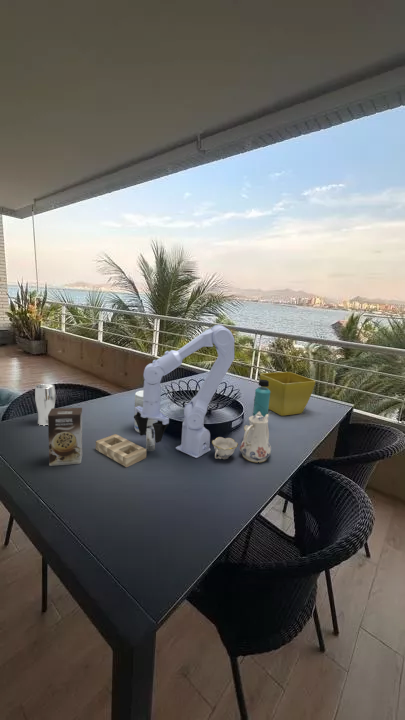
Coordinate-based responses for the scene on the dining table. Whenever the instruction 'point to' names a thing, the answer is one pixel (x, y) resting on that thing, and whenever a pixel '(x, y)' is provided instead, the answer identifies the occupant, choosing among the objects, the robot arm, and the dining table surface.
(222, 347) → the robot arm
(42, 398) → the beer glass
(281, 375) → the flower pot
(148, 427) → the peg
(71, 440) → the coffee box
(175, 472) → the dining table surface
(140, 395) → the supplement tub
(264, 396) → the beverage bottle
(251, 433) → the chinaware
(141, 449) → the hole block
